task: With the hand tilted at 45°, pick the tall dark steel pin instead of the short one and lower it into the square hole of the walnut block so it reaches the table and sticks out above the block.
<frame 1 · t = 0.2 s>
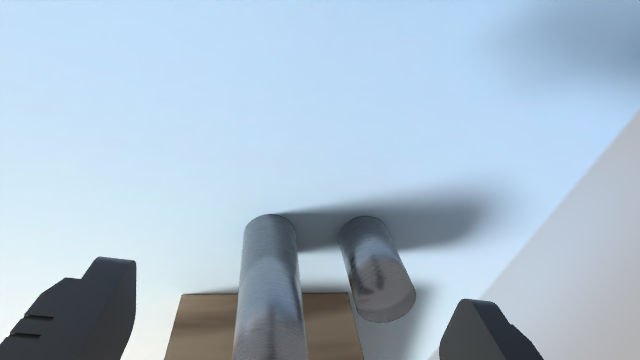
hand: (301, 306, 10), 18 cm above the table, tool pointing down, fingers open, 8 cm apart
bore block: (264, 357, 37), on the table
long pin: (269, 236, 30), on the table
short pin: (363, 236, 31), on the table
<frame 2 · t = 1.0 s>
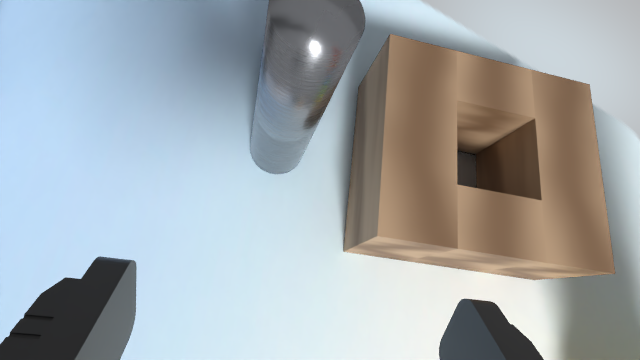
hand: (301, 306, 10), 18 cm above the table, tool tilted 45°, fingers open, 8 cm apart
bore block: (443, 180, 32), on the table
long pin: (276, 149, 30), on the table
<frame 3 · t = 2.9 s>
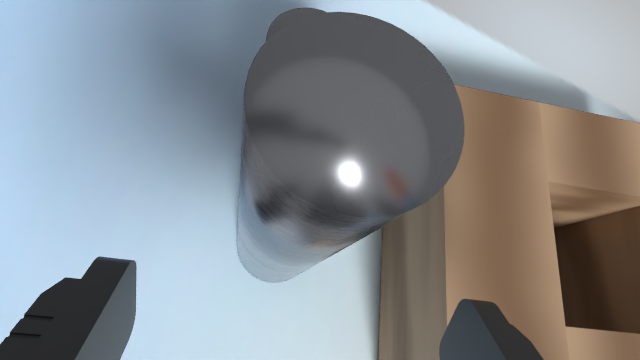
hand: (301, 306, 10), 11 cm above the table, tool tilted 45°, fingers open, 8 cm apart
bore block: (509, 272, 23), on the table
long pin: (275, 243, 21), on the table
short pin: (290, 119, 23), on the table
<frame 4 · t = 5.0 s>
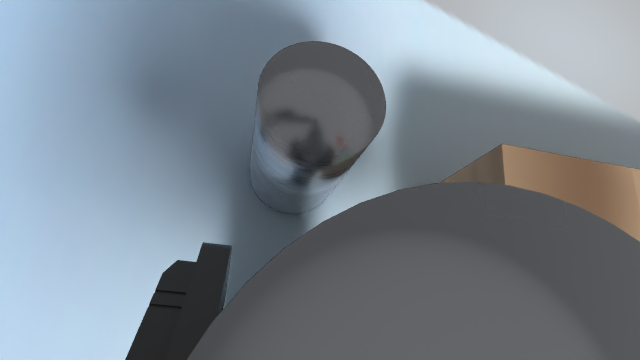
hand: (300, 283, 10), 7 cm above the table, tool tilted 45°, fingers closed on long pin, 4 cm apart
long pin: (270, 343, 16), on the table, touching gripper
short pin: (292, 172, 18), on the table
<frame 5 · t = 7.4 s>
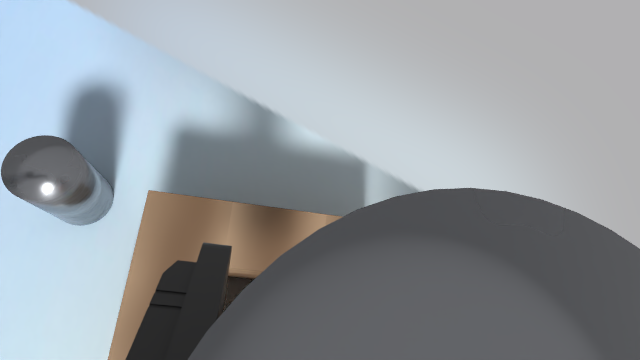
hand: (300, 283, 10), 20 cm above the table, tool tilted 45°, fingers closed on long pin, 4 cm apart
bore block: (258, 321, 29), on the table
long pin: (270, 344, 16), point 14 cm above the table, touching gripper
short pin: (84, 198, 29), on the table
when the fingers open (10 cm above the table, at t = 9.9 s): long pin drops 3 cm, resting in bore block.
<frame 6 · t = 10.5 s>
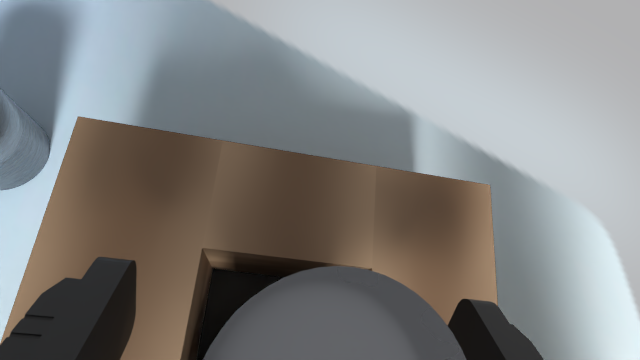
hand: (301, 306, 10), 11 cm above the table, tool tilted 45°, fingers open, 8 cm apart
bore block: (264, 338, 19), on the table
long pin: (263, 341, 19), resting in bore block
short pin: (4, 152, 19), on the table
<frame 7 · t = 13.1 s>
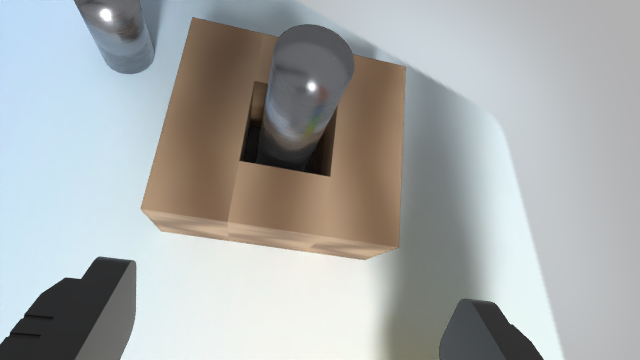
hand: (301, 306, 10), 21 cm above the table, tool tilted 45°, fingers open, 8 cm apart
bore block: (279, 163, 33), on the table
long pin: (279, 165, 33), resting in bore block
short pin: (129, 53, 33), on the table
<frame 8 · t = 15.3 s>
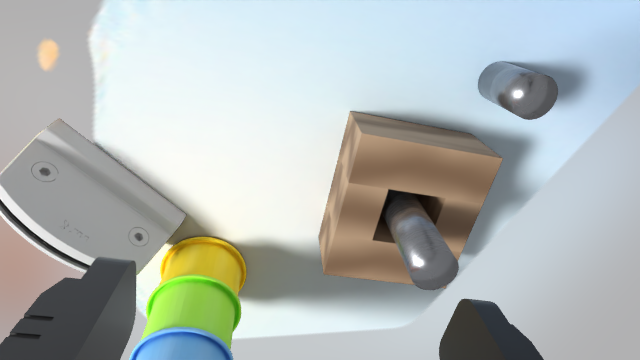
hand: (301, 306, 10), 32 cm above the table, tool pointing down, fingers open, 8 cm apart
bore block: (391, 187, 45), on the table
long pin: (390, 187, 45), resting in bore block
stacking cups: (205, 268, 48), on the table
short pin: (496, 81, 41), on the table
grey curved housing: (107, 190, 43), on the table
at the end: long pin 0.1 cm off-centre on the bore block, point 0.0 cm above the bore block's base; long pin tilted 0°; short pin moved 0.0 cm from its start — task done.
